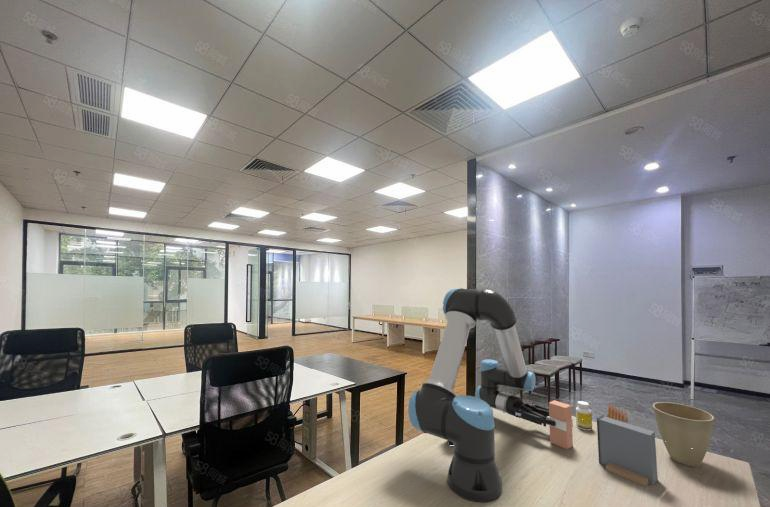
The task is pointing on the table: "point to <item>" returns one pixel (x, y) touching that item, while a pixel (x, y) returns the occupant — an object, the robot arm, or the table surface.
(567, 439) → the stub
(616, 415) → the ammunition clip
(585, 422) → the supplement bottle
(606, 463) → the ticket block
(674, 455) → the plant pot
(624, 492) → the table surface
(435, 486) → the table surface
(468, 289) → the robot arm
